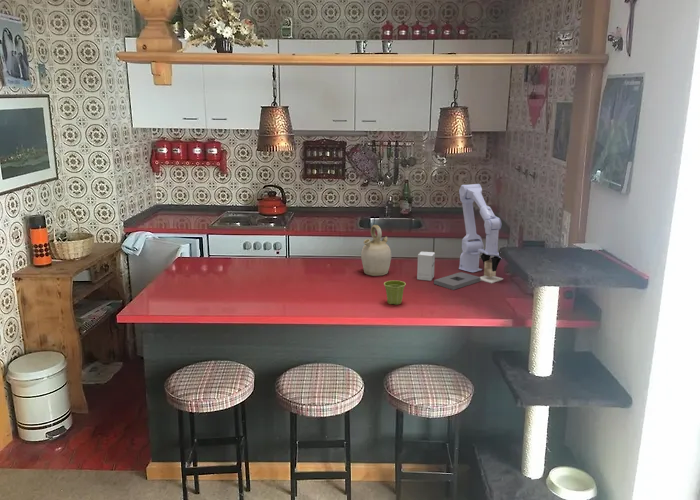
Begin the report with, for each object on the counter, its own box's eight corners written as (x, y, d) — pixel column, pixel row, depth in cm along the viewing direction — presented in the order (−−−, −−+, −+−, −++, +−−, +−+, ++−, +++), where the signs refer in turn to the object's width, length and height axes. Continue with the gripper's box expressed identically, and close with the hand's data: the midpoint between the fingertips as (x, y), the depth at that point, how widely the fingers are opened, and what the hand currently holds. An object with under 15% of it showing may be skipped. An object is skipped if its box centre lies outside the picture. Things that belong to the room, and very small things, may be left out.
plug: (483, 275, 287) (484, 261, 286) (488, 273, 290) (489, 259, 288) (490, 277, 284) (491, 263, 283) (495, 275, 287) (496, 261, 285)
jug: (365, 278, 291) (365, 228, 285) (357, 269, 306) (357, 222, 299) (395, 275, 294) (395, 227, 288) (386, 267, 309) (386, 220, 303)
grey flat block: (433, 283, 281) (434, 279, 281) (460, 275, 294) (461, 271, 293) (453, 290, 272) (453, 285, 272) (480, 281, 285) (480, 277, 284)
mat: (476, 279, 288) (476, 277, 288) (487, 275, 294) (488, 274, 294) (491, 283, 282) (491, 282, 282) (503, 279, 287) (503, 278, 287)
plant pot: (379, 301, 258) (379, 282, 256) (397, 297, 263) (397, 279, 260) (391, 307, 250) (391, 288, 248) (409, 303, 255) (409, 284, 253)
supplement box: (431, 281, 286) (432, 255, 283) (416, 279, 288) (417, 254, 285) (434, 276, 293) (435, 252, 289) (419, 275, 295) (420, 250, 292)
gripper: (474, 241, 286) (473, 268, 289) (499, 247, 275) (497, 274, 279) (483, 239, 290) (482, 265, 294) (508, 244, 280) (506, 272, 283)
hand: (490, 270), depth 287 cm, fingers closed on plug, 4 cm apart
